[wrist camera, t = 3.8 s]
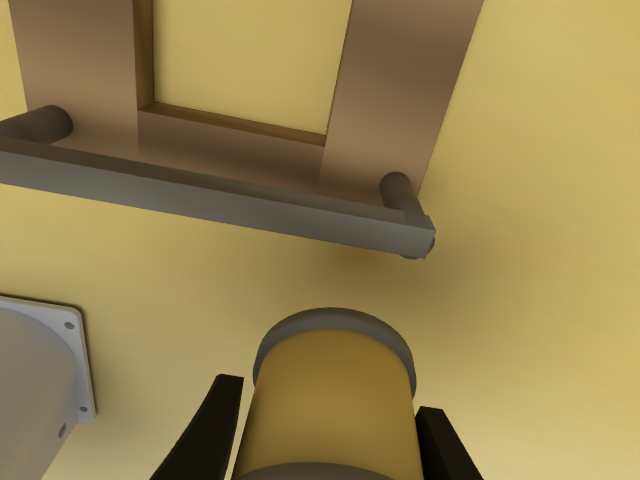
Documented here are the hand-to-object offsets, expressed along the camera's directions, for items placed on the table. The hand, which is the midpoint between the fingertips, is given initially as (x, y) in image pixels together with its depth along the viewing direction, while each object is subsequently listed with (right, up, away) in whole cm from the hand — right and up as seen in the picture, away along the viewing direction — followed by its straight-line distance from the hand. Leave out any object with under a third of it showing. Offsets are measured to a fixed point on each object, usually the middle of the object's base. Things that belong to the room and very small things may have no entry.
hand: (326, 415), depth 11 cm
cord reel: (0, +1, +1) cm, 2 cm away
